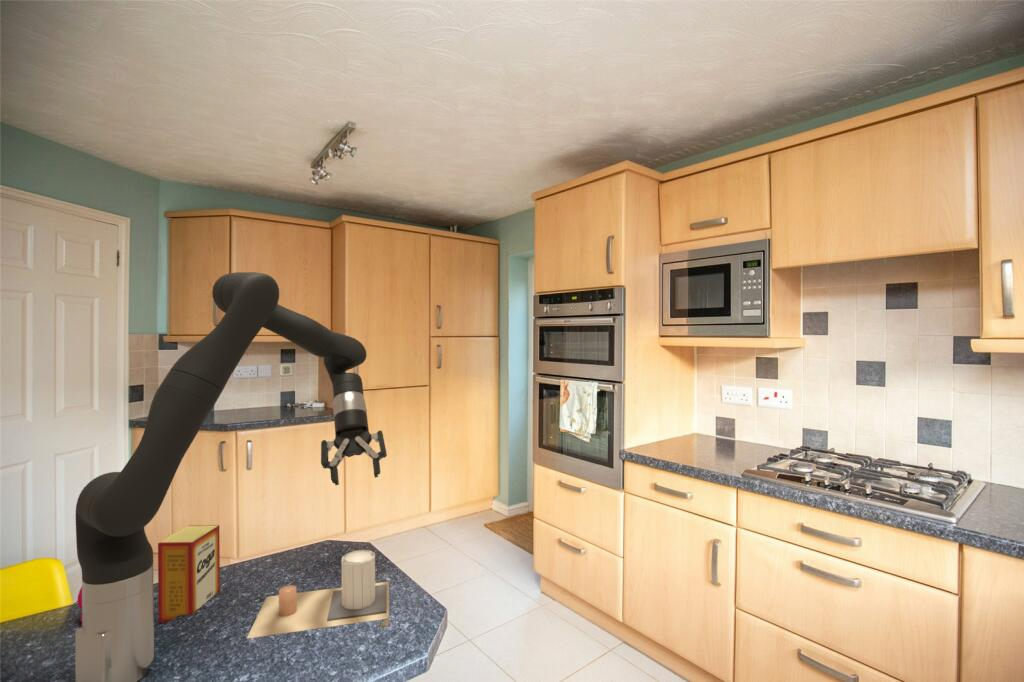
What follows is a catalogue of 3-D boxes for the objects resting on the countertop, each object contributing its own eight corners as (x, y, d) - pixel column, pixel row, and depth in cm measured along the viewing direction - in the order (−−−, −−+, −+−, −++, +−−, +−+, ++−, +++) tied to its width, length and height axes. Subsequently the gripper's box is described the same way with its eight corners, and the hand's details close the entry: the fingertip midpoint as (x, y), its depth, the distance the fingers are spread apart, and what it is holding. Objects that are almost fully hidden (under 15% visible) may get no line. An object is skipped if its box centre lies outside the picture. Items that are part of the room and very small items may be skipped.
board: (389, 588, 109) (388, 579, 109) (388, 625, 94) (388, 616, 94) (266, 603, 103) (266, 594, 103) (246, 646, 88) (246, 636, 88)
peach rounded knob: (288, 617, 95) (288, 594, 95) (275, 615, 96) (275, 592, 96) (300, 608, 98) (299, 586, 98) (286, 606, 99) (286, 584, 99)
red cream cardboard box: (189, 597, 106) (189, 523, 106) (219, 596, 106) (219, 523, 106) (158, 622, 96) (157, 541, 96) (191, 621, 96) (191, 541, 96)
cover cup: (363, 611, 96) (363, 565, 96) (335, 606, 98) (335, 561, 98) (381, 594, 102) (380, 551, 102) (354, 590, 104) (353, 548, 104)
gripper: (316, 413, 112) (320, 482, 104) (379, 403, 116) (388, 468, 108) (321, 425, 119) (326, 491, 111) (381, 415, 122) (390, 478, 114)
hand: (356, 480), depth 109 cm, fingers open, 8 cm apart
